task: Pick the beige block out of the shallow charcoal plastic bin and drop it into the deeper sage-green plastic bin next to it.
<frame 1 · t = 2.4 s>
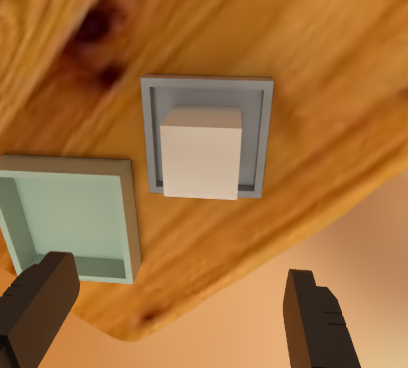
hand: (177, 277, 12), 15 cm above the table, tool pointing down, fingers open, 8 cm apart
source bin: (206, 135, 26), on the table
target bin: (78, 212, 30), on the table
beige block: (206, 138, 25), resting on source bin
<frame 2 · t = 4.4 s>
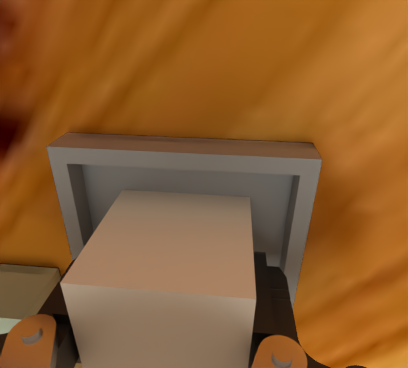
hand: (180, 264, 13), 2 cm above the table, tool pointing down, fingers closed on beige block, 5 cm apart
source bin: (187, 237, 14), on the table
beige block: (186, 244, 14), resting on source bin, touching gripper
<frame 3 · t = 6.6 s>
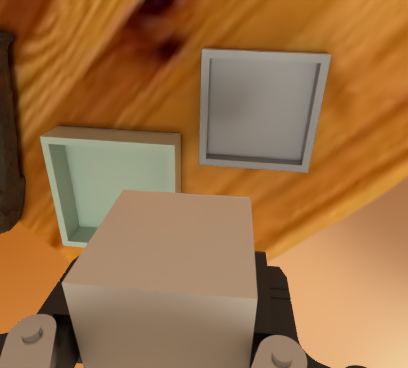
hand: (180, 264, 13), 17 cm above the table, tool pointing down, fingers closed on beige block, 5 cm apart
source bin: (257, 110, 26), on the table
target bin: (123, 185, 31), on the table
beige block: (186, 244, 14), point 16 cm above the table, touching gripper
hand tool: (16, 136, 30), on the table
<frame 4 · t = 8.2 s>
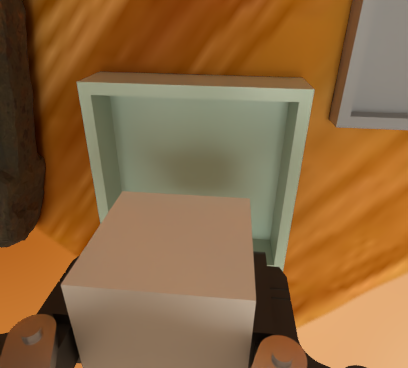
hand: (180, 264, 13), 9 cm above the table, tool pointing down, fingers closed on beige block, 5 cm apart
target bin: (198, 166, 20), on the table
beige block: (186, 245, 14), point 8 cm above the table, touching gripper
hand tool: (31, 94, 20), on the table
when the fingers open (3 cm above the table, at t = 9.8 s): beige block drops 2 cm, resting on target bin.
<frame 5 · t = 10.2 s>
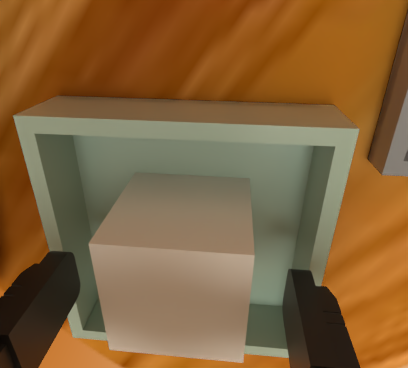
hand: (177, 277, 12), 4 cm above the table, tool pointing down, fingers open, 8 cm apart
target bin: (191, 216, 16), on the table
beige block: (191, 223, 15), resting on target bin
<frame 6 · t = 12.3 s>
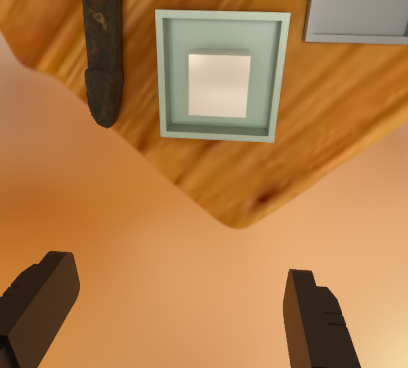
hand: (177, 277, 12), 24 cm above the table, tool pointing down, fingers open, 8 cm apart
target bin: (220, 75, 32), on the table
beige block: (220, 76, 31), resting on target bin
hand tool: (117, 26, 31), on the table
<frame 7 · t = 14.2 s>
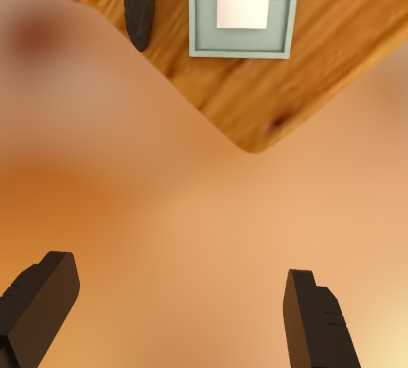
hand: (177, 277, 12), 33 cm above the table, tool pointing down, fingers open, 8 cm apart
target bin: (241, 1, 36), on the table
beige block: (242, 1, 36), resting on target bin
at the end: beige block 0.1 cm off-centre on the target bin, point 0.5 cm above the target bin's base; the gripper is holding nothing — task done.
